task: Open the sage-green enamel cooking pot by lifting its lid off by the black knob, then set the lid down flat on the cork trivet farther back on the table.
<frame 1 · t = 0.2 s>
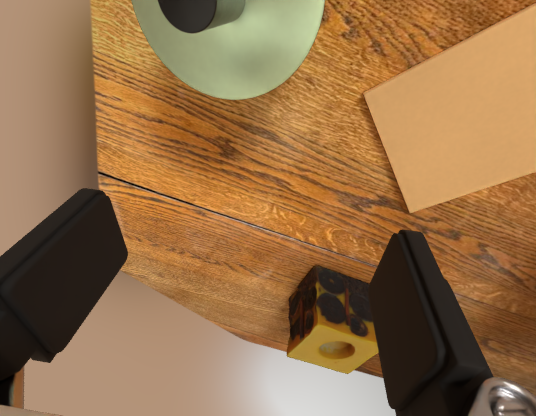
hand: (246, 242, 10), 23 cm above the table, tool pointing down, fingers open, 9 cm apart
trivet: (469, 124, 28), on the table
candle: (328, 290, 46), on the table
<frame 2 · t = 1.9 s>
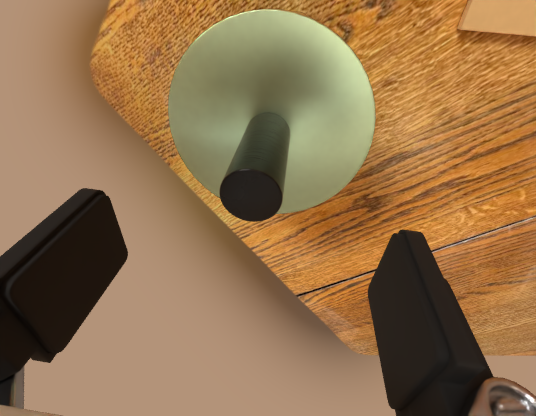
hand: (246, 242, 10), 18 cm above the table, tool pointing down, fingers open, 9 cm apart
lid: (269, 130, 17), point 8 cm above the table, touching pot
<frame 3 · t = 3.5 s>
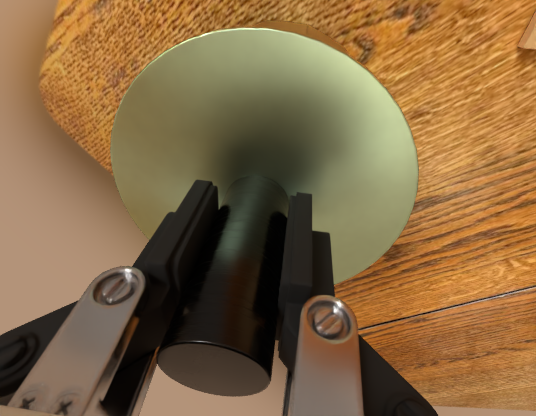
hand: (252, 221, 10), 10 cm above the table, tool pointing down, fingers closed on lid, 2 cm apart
lid: (259, 194, 12), point 9 cm above the table, touching gripper, pot
pot: (278, 122, 19), on the table
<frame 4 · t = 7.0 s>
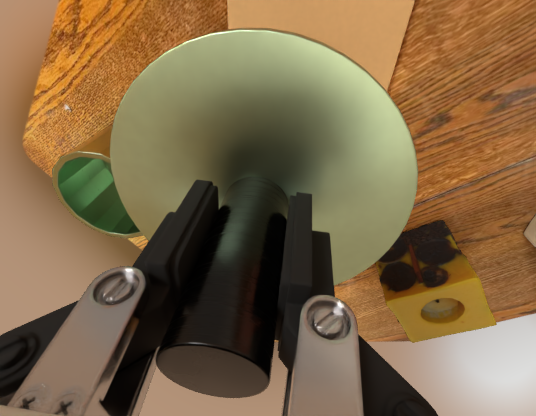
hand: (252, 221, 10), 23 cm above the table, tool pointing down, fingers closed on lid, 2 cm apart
lid: (258, 195, 12), point 21 cm above the table, touching gripper
trivet: (309, 65, 28), on the table
pot: (142, 162, 37), on the table
candle: (414, 252, 41), on the table
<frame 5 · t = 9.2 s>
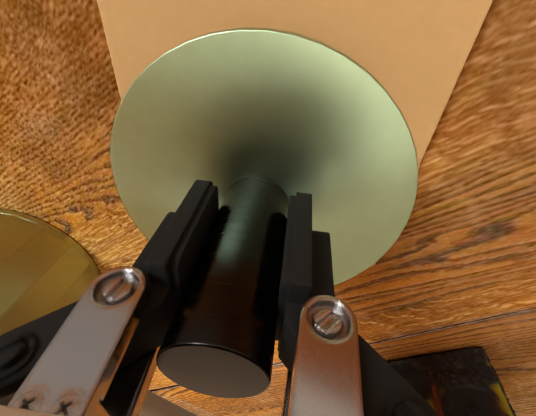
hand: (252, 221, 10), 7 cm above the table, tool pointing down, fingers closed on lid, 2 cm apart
lid: (259, 195, 12), point 5 cm above the table, touching gripper
trivet: (271, 144, 16), on the table
pot: (37, 258, 25), on the table
candle: (436, 374, 29), on the table
when the fingers open (3 cm above the table, at t = 10.5 s): lid stays where it is, resting on trivet.
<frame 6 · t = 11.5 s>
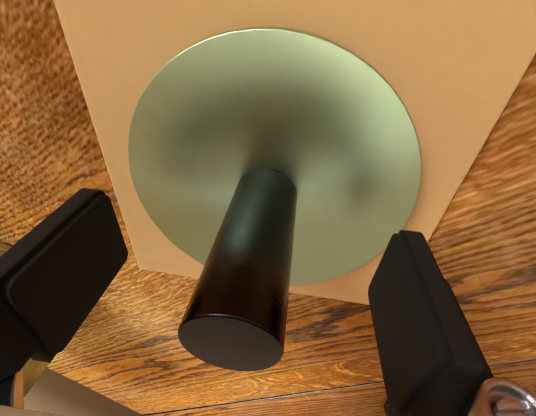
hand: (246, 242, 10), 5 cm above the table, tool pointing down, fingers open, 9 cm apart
lid: (268, 187, 12), point 1 cm above the table, touching trivet
trivet: (271, 173, 13), on the table
pot: (14, 285, 23), on the table
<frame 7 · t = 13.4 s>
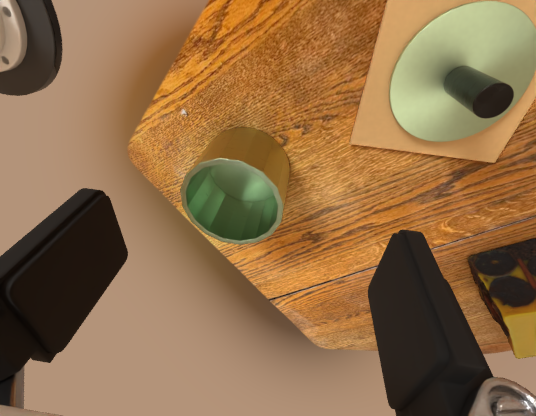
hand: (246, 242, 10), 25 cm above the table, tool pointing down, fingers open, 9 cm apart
lid: (456, 79, 27), point 1 cm above the table, touching trivet
trivet: (452, 76, 28), on the table
pot: (247, 168, 37), on the table
candle: (511, 266, 40), on the table
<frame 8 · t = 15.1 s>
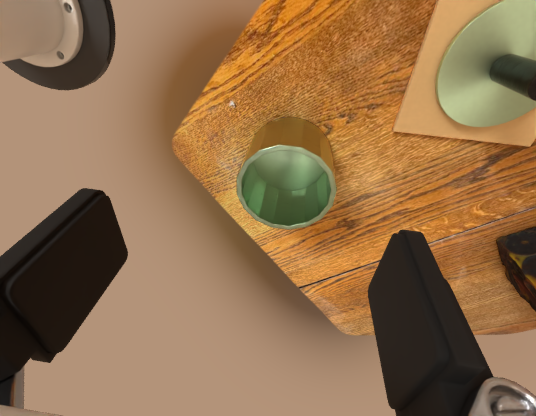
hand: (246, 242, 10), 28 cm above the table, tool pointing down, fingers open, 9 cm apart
lid: (501, 67, 28), point 1 cm above the table, touching trivet
trivet: (495, 64, 29), on the table
pot: (289, 157, 39), on the table
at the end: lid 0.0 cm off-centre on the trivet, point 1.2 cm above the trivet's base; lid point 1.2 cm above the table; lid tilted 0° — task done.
